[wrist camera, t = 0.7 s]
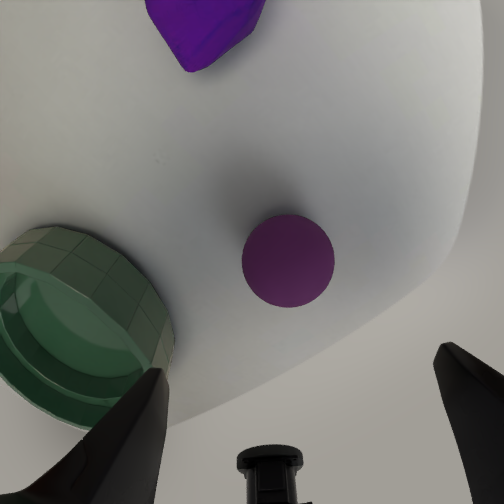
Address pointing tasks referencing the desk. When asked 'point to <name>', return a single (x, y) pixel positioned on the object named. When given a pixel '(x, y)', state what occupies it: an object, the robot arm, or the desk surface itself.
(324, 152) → the desk surface
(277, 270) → the ball
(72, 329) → the bowl
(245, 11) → the crystal
